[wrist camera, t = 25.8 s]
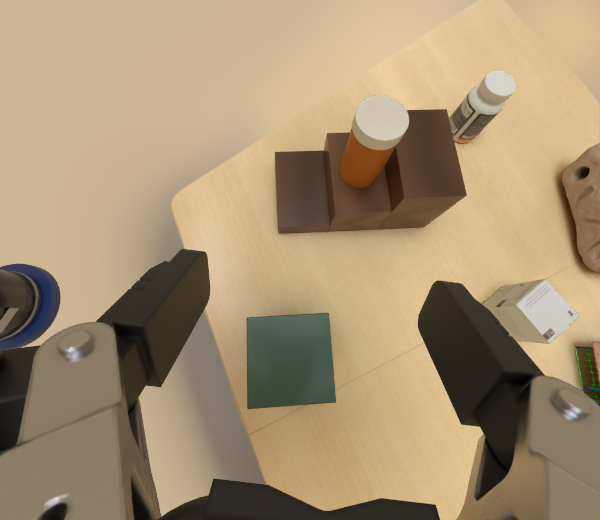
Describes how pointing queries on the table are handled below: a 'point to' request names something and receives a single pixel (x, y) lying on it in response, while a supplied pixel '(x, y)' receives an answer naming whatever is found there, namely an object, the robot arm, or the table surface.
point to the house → (599, 355)
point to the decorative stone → (586, 204)
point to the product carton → (531, 311)
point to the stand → (289, 361)
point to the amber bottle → (372, 139)
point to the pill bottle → (481, 105)
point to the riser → (383, 192)
